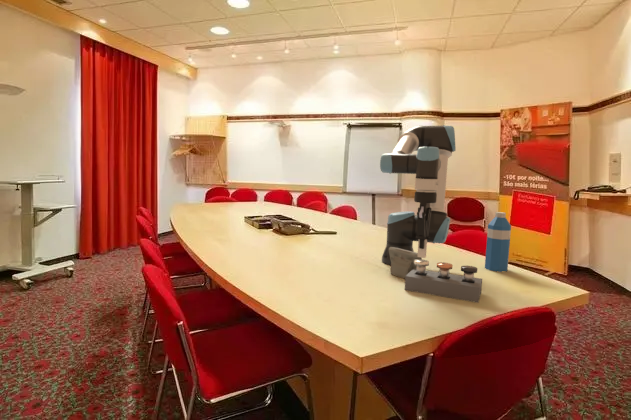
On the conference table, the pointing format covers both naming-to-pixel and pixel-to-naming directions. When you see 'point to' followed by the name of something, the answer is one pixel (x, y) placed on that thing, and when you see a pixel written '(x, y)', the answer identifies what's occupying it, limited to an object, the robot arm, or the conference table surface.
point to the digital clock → (402, 261)
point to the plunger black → (468, 273)
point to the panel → (444, 285)
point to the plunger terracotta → (444, 270)
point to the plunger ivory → (421, 266)
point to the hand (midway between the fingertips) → (421, 257)
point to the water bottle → (498, 243)
